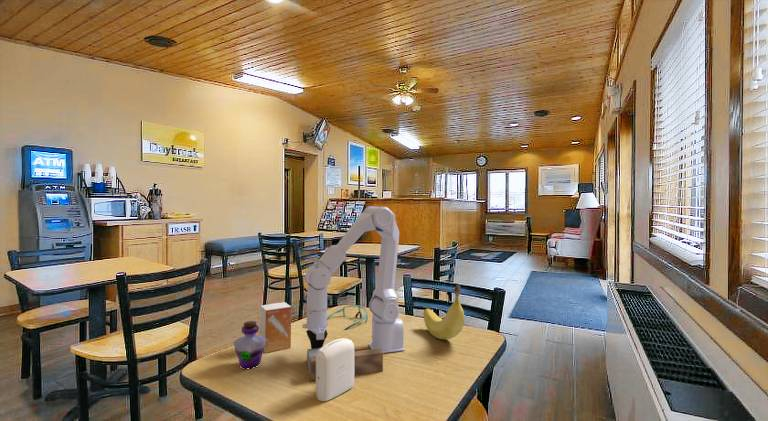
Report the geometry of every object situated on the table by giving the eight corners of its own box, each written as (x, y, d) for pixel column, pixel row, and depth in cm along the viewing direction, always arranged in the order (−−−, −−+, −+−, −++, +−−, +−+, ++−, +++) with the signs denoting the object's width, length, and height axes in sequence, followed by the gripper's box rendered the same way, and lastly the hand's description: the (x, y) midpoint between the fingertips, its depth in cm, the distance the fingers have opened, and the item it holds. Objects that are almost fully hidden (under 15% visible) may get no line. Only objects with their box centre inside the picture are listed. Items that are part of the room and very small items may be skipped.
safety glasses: (374, 321, 143) (373, 308, 143) (347, 336, 132) (346, 322, 131) (347, 314, 152) (347, 302, 151) (320, 327, 140) (319, 314, 140)
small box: (265, 353, 112) (265, 310, 111) (259, 346, 117) (259, 305, 117) (291, 348, 116) (291, 306, 116) (284, 341, 122) (284, 301, 121)
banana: (418, 328, 135) (419, 273, 135) (432, 326, 137) (433, 272, 137) (452, 352, 114) (453, 286, 114) (468, 349, 116) (469, 285, 116)
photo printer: (325, 404, 85) (325, 349, 84) (312, 397, 87) (313, 344, 87) (357, 387, 92) (357, 337, 92) (344, 381, 95) (345, 333, 95)
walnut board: (379, 366, 104) (379, 348, 104) (382, 371, 101) (382, 352, 101) (309, 375, 98) (309, 356, 98) (311, 380, 95) (311, 361, 95)
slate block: (328, 360, 107) (328, 346, 107) (332, 371, 101) (332, 356, 100) (307, 363, 105) (307, 349, 105) (310, 374, 99) (310, 359, 99)
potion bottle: (233, 374, 98) (233, 328, 98) (233, 361, 106) (233, 319, 106) (267, 369, 102) (267, 325, 101) (265, 356, 110) (265, 315, 109)
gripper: (300, 303, 113) (300, 347, 113) (305, 317, 99) (305, 368, 99) (323, 301, 115) (323, 345, 115) (332, 315, 101) (331, 365, 102)
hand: (316, 355), depth 108 cm, fingers closed
